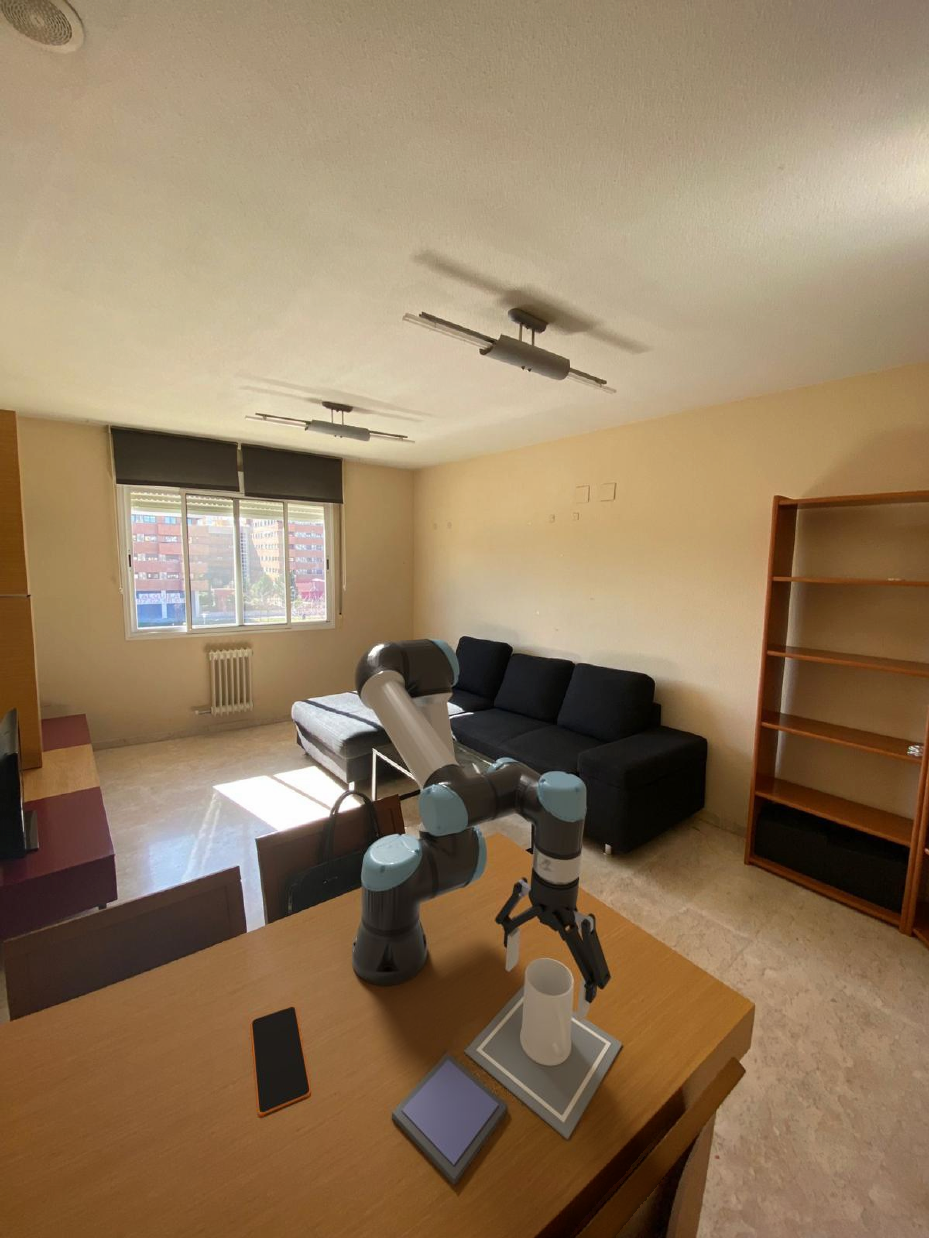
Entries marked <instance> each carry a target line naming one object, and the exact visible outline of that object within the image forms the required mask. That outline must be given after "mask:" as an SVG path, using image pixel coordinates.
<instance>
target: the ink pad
mask: <svg viewBox="0 0 929 1238" xmlns="http://www.w3.org/2000/svg"><path fill="white" fill-rule="evenodd" d="M508 1112H509V1104H508V1103H506V1102H505V1101H504V1099H502V1098H501V1097H500V1096H498V1095H497V1093H495V1092H494V1091H492V1090H491V1089H490V1088H489V1087H488V1085H486V1084H484V1082H482V1081H481V1080H480V1079H479V1078H478V1077H477V1076H476V1075H474V1074H473V1073H472V1072H471V1071H469V1070H468V1068H466V1067H465V1066H464V1065H463V1064H462V1063H460V1062H459V1061H458V1059H456V1058H455V1057H454V1056H453V1055H451V1053H449V1052H446V1053H445V1054H444V1056H442V1057H441V1059H440V1060H439V1061H438V1062H437V1063H436V1064H435V1065H434V1066H433V1067H432V1068H431V1069H430V1070H429V1072H427V1073H426V1075H425V1076H424V1077H423V1078H422V1079H421V1080H420V1081H419V1082H418V1083H417V1084H416V1085H415V1087H413V1089H412V1090H410V1092H409V1093H408V1094H406V1096H405V1097H404V1098H403V1099H402V1100H401V1101H400V1103H399V1104H398V1105H397V1106H396V1107H395V1108H394V1109H393V1110H392V1111H391V1118H392V1120H393V1121H394V1122H395V1123H396V1124H397V1126H398V1127H400V1129H401V1130H403V1132H404V1133H405V1134H406V1135H407V1137H409V1139H411V1140H412V1142H413V1143H414V1145H416V1146H417V1147H418V1148H419V1149H420V1150H421V1152H422V1153H423V1154H424V1155H425V1156H426V1157H427V1158H428V1159H429V1160H430V1161H431V1162H432V1164H434V1166H435V1167H436V1168H437V1169H438V1170H439V1171H440V1172H441V1173H442V1174H443V1175H444V1176H445V1177H446V1179H447V1180H448V1181H449V1182H450V1183H451V1184H452V1185H453V1186H455V1185H456V1184H457V1183H458V1181H459V1180H460V1179H461V1177H462V1176H463V1175H464V1173H465V1171H466V1170H467V1169H468V1167H469V1166H470V1164H471V1163H472V1161H473V1160H475V1159H474V1158H475V1157H476V1156H477V1155H478V1153H479V1152H480V1151H481V1149H482V1148H483V1146H484V1145H485V1143H486V1142H487V1141H488V1140H489V1138H490V1136H491V1135H492V1134H493V1132H494V1131H495V1130H496V1129H497V1127H498V1125H499V1124H500V1123H501V1121H502V1120H503V1118H504V1117H505V1115H506V1114H507V1113H508Z"/></svg>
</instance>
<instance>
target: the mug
mask: <svg viewBox="0 0 929 1238" xmlns="http://www.w3.org/2000/svg"><path fill="white" fill-rule="evenodd" d="M523 985H524V1001H523V1019H522V1029H521V1032H520V1041H521V1045H522V1048H523V1049H524V1051H525V1053H526V1054H527V1055H528V1056H529V1057H530V1058H531V1059H532V1060H534V1061H535V1062H537V1063H539V1064H542V1065H547V1066H554V1065H558V1064H561V1063H562V1062H564V1061H565V1060H566V1059H567V1058H568V1056H569V1054H570V1052H571V1039H570V1036H571V1020H572V1010H573V1005H574V1004H573V1003H574V1002H573V1001H574V991H575V990H574V988H575V978H574V975H573V973H572V971H571V969H569V968H568V967H567V965H565V964H564V963H562V962H561V961H559V960H556V959H553V958H551V957H550V958H548V957H541V958H536V959H534V960H532V961H530V962H529V963H528V964H527V966H526V968H525V972H524V983H523Z"/></svg>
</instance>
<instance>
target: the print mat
mask: <svg viewBox="0 0 929 1238" xmlns="http://www.w3.org/2000/svg"><path fill="white" fill-rule="evenodd" d="M523 1001H524V984H523V985H522V986H521V988H520V989H518V991H517V992H516V993H515V994H514V995H513V996H512V997H511V999H509V1000H508V1002H507V1003H506V1004H505V1005H504V1007H502V1008H501V1010H500V1011H499V1012H498V1013H497V1014H496V1015H495V1016H494V1017H493V1018H492V1019H491V1021H490V1022H488V1024H487V1026H485V1027H484V1029H482V1031H481V1032H480V1033H479V1034H478V1035H477V1036H476V1038H474V1040H472V1042H471V1043H470V1044H469V1045H468V1046H467V1047H466V1049H465V1050H464V1052H463V1053H464V1054H465V1055H466V1056H468V1058H469V1059H471V1060H472V1061H474V1063H476V1064H477V1065H478V1066H479V1067H480V1068H482V1069H483V1070H484V1071H485V1072H486V1073H488V1074H489V1075H490V1076H491V1077H492V1078H494V1079H495V1080H496V1081H497V1082H498V1083H499V1084H500V1085H502V1086H503V1087H504V1088H505V1089H507V1090H508V1091H509V1092H510V1093H511V1094H512V1095H514V1097H515V1098H517V1099H518V1100H519V1101H520V1102H522V1103H523V1104H524V1105H525V1106H526V1107H527V1108H529V1109H530V1110H531V1111H533V1113H535V1114H536V1116H538V1117H539V1118H540V1119H542V1120H543V1121H544V1122H545V1123H546V1124H548V1125H549V1126H550V1127H551V1128H552V1129H553V1130H555V1131H556V1132H557V1133H558V1134H559V1135H560V1136H562V1137H563V1138H564V1139H566V1140H567V1141H568V1140H569V1139H570V1137H571V1135H572V1133H573V1132H574V1130H575V1128H576V1126H577V1124H578V1123H579V1121H580V1119H581V1118H582V1117H583V1114H584V1113H585V1111H586V1110H587V1107H588V1106H589V1104H590V1102H591V1100H592V1098H593V1096H594V1095H595V1094H596V1092H597V1090H598V1088H599V1086H600V1084H601V1083H602V1081H603V1080H604V1077H605V1076H606V1074H607V1073H608V1070H609V1069H610V1068H611V1065H612V1064H613V1062H614V1061H615V1058H616V1057H617V1055H618V1053H619V1051H620V1050H621V1048H622V1046H623V1042H622V1041H619V1040H618V1039H616V1038H615V1037H614V1036H612V1035H611V1034H609V1033H607V1032H606V1031H605V1030H604V1029H601V1028H600V1027H598V1026H597V1025H595V1023H592V1022H591V1021H589V1020H588V1019H586V1018H585V1017H584V1019H583V1020H582V1022H580V1021H579V1020H577V1011H576V1012H575V1011H574V1010H573V1009H572V1020H571V1036H570V1039H571V1052H570V1054H569V1056H568V1058H567V1059H566V1060H565V1061H564V1062H562V1063H561V1064H558V1065H554V1066H547V1065H542V1064H539V1063H537V1062H535V1061H534V1060H532V1059H531V1058H530V1057H529V1056H528V1055H527V1054H526V1053H525V1051H524V1049H523V1048H522V1045H521V1041H520V1032H521V1029H522V1019H523Z"/></svg>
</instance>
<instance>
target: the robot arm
mask: <svg viewBox="0 0 929 1238" xmlns="http://www.w3.org/2000/svg"><path fill="white" fill-rule="evenodd" d="M459 675H460V665H459V660H458V657H457V655H456V652H455V651H454V649H453V648H452V646H451V645H449V643H448V642H446V641H445V640H443V639H438V638H437V639H436V638H433V639H432V638H423V639H421V638H420V639H409V640H397V641H396V640H395V641H393V640H392V641H391V640H389V641H382V642H379V643H376V644H374V645H373V646H371V647H369V649H367V650H366V651H365V652H364V653H363V655H362V656H361V657H360V659H359V660H358V662H357V665H356V667H355V672H354V686H355V691H356V694H357V696H358V698H359V699H360V701H361V703H362V705H363V706H364V707H366V708H367V709H369V710H372V711H373V713H374V714H375V716H376V718H377V719H378V721H379V723H380V724H381V726H382V727H383V729H384V730H385V732H386V734H387V736H388V738H389V739H390V740H391V742H392V744H393V746H394V747H395V749H396V751H397V752H398V753H399V755H400V757H401V758H402V760H403V761H404V763H405V765H406V766H407V769H408V770H409V772H410V773H411V775H412V777H413V778H414V780H415V781H416V783H417V785H418V787H419V790H420V793H419V796H418V799H417V800H418V801H417V802H418V804H417V806H418V809H417V810H418V813H419V816H420V817H421V822H420V824H419V825H418V835H419V838H417V837H416V836H413V835H410V834H407V833H403V834H401V835H400V834H399V833H395V834H390V835H389V834H388V835H386V836H383V837H381V838H379V839H378V840H377V839H376V841H374V842H373V843H372V844H371V845H370V846H369V847H368V849H367V850H366V852H365V854H364V855H363V860H362V867H361V875H360V878H361V879H360V880H361V921H360V923H359V927H358V929H357V933H356V936H355V938H354V940H353V944H352V948H351V963H352V968H353V970H354V971H355V973H356V974H357V975H358V977H360V978H361V979H362V980H364V981H366V982H368V983H370V984H374V985H378V986H394V985H399V984H402V983H405V982H407V981H409V980H411V979H412V978H414V977H415V976H416V975H418V974H419V973H420V971H421V970H422V968H423V967H424V966H425V964H426V961H427V957H428V941H427V936H426V933H425V931H424V927H423V925H422V921H421V918H420V913H421V912H420V911H421V910H420V908H421V904H423V903H425V902H427V901H430V900H433V899H435V898H436V899H437V898H438V897H441V896H444V895H446V894H448V893H451V892H453V891H456V890H460V889H464V888H466V887H468V886H470V884H473V883H475V882H477V881H479V879H481V877H483V874H484V873H485V870H486V867H487V863H488V862H487V861H488V847H487V843H486V839H485V837H484V836H483V833H482V831H481V829H480V827H478V826H479V825H482V824H484V823H488V822H491V821H496V820H498V819H502V818H505V817H508V816H511V815H515V814H517V815H519V816H520V817H522V818H523V819H524V820H525V821H527V822H528V823H531V824H532V825H533V826H534V838H533V840H534V841H533V854H532V855H533V856H532V869H531V875H530V884H529V883H528V879H527V878H526V877H525V876H523V877H521V878H520V879H519V880H518V881H516V882H515V883H514V884H513V888H512V893H511V895H510V897H509V898H508V900H506V902H505V904H504V905H503V906H502V908H501V909H500V911H499V912H498V914H497V915H496V917H495V918H494V921H495V923H496V924H497V925H501V926H502V927H503V928H502V929H503V931H504V935H503V947H504V948H506V958H505V970H506V971H507V972H511V970H512V969H513V968H515V967H516V965H517V964H518V963H519V952H520V939H521V928H519V927H520V926H522V925H524V924H525V923H527V922H529V921H531V920H533V919H534V918H537V919H538V920H539V923H541V924H543V925H544V926H548V927H549V928H550V929H551V930H553V931H554V932H556V933H557V932H558V935H559V937H560V938H561V940H562V941H563V942H565V944H566V946H567V948H568V949H569V951H570V953H571V955H572V957H573V959H574V961H575V963H576V966H577V968H578V970H579V971H580V973H581V975H582V979H581V980H580V981H579V982H580V983H579V991H578V1002H577V1011H576V1013H577V1020H579V1021H580V1022H582V1020H583V1019H584V1018H585V1017H586V1016H587V1015H588V1013H589V1012H590V1004H592V1003H593V1001H594V1000H595V998H596V997H597V994H598V993H597V991H598V989H600V990H604V989H605V988H606V986H607V985H608V983H609V982H610V981H611V979H612V976H611V973H610V970H609V966H608V964H607V961H606V957H605V954H604V951H603V948H602V945H601V940H600V939H599V935H598V932H597V926H596V925H597V924H596V923H597V922H596V921H597V920H596V915H594V914H593V913H588V914H587V915H586V914H583V913H581V912H579V910H578V907H577V901H578V897H579V884H580V873H581V865H582V864H581V863H582V851H583V850H582V849H583V836H584V830H585V822H586V814H587V809H588V807H587V786H586V784H585V782H584V781H583V780H582V779H581V777H578V776H576V775H574V774H572V773H566V771H565V772H564V771H557V770H556V771H548V772H546V773H543V774H540V773H539V772H537V771H536V770H534V769H532V768H531V767H529V766H527V765H526V764H524V763H523V762H520V761H518V760H516V759H513V758H511V757H500V758H499V759H496V761H495V762H494V763H491V764H490V766H489V767H488V768H487V771H486V772H484V773H479V774H475V775H471V776H468V775H467V774H466V772H465V771H464V770H463V768H462V766H460V764H459V762H458V761H457V760H456V755H455V748H454V741H453V735H452V728H451V720H450V714H449V707H448V702H449V700H450V698H451V697H452V696H453V690H452V689H453V688H452V687H454V686H456V684H457V683H458V681H459ZM526 896H528V899H529V902H530V904H531V905H532V906H530V907H529V908H527V909H525V910H523V911H521V912H520V913H519V914H516V916H513V917H512V918H511V917H510V915H511V914H512V912H514V909H515V908H516V907H517V905H518V904H519V902H520V901H521V899H522V898H524V897H526ZM567 927H569V928H568V929H566V928H567ZM580 933H581V934H580Z"/></svg>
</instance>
